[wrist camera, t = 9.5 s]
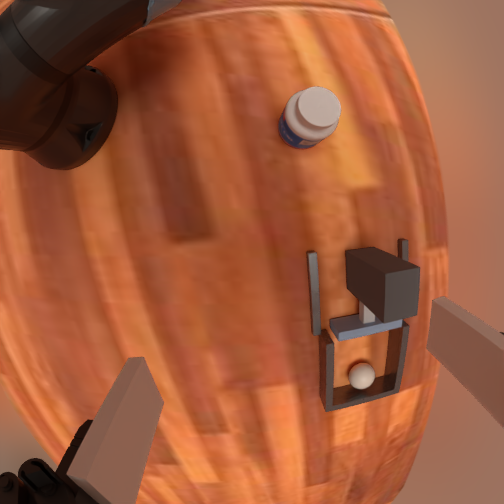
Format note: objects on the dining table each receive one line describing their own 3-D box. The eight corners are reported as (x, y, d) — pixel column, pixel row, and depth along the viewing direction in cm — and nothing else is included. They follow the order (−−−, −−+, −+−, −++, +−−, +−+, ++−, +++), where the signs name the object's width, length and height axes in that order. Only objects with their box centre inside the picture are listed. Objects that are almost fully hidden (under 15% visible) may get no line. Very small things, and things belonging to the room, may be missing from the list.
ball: (343, 370, 39) (349, 362, 36) (367, 365, 39) (374, 356, 36) (348, 394, 36) (355, 388, 33) (373, 388, 36) (381, 381, 33)
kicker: (326, 253, 34) (360, 278, 23) (389, 244, 34) (438, 263, 23) (330, 327, 36) (357, 372, 25) (388, 315, 36) (428, 351, 25)
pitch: (306, 251, 34) (313, 258, 30) (403, 238, 34) (419, 243, 30) (313, 396, 38) (318, 413, 35) (394, 377, 38) (404, 390, 34)
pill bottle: (272, 112, 31) (282, 81, 21) (314, 105, 31) (338, 75, 21) (283, 154, 32) (298, 137, 22) (326, 146, 32) (355, 129, 22)
